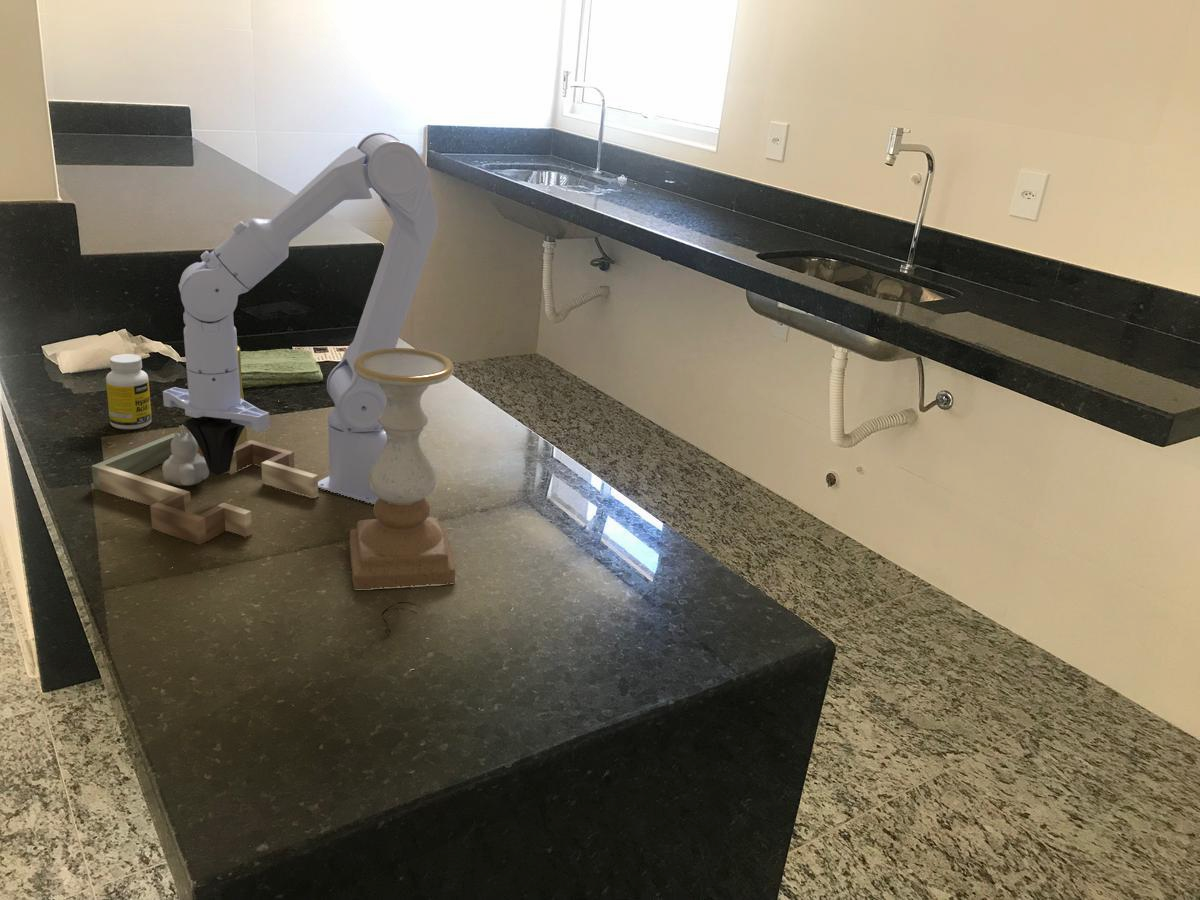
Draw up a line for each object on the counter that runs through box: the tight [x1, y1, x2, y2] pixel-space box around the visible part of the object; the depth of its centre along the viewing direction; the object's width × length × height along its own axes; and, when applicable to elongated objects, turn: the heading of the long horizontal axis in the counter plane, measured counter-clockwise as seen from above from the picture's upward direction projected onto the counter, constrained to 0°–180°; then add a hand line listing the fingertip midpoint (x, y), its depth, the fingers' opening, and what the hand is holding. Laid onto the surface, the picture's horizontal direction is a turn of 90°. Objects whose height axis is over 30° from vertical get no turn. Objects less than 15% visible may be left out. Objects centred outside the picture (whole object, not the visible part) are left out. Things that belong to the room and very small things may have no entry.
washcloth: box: [240, 348, 324, 389], centre depth 162 cm, size 13×18×3 cm
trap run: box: [91, 432, 319, 546], centre depth 121 cm, size 24×21×3 cm
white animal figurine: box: [161, 424, 210, 487], centre depth 121 cm, size 5×7×8 cm
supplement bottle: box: [105, 353, 153, 430], centre depth 137 cm, size 5×5×10 cm
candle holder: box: [349, 347, 456, 589], centre depth 105 cm, size 11×11×24 cm
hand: (219, 471), depth 119 cm, fingers closed
